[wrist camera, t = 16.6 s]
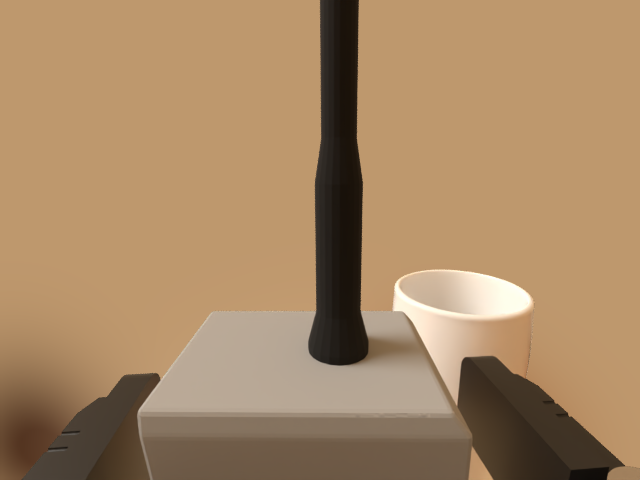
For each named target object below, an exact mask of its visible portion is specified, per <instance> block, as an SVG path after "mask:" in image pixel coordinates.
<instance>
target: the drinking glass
mask: <svg viewBox="0 0 640 480" xmlns="http://www.w3.org/2000/svg"><path fill="white" fill-rule="evenodd" d="M394 289H395V290H394V300H393V311H402V312H404V313H405V314H406V315H407V316H408V317H409V318H410V320H411V321H412V322H413V324H414V326H415V327H416V329H417V331H418V333H419V335H420V337H421V339H422V341H423V343H424V345H425V346H426V348H427V350H428V352H429V354H430V356H431V358H432V360H433V362H434V364H435V365H436V367H437V369H438V371H439V373H440V375H441V377H442V379H443V381H444V382H445V384H446V386H447V388H448V390H449V392H450V394H451V396H452V398H453V400H454V401H455V403H456V405H457V403H458V392H459V381H460V370H461V363H462V360H463V359H464V358H465V357H475V356H495V357H496V358H498V359H499V360H500V361H501V362H502V363H503V364H504V365H505V366H506V367H507V368H508V369H509V370H510V371H511V372H512V373H513V374H518V375H520V376H522V377H524V378H525V379H526V375H527V370H528V364H529V357H530V350H531V340H532V330H533V315H534V306H535V304H534V300H533V299H532V297H531V296H530V294H528V293H527V292H526V291H525V290H523V289H522V288H520V287H518V286H517V285H514V284H512V283H510V282H508V281H505V280H502V279H499V278H496V277H492V276H488V275H484V274H479V273H473V272H466V271H457V270H427V271H419V272H414V273H411V274H408V275H405V276H403V277H402V278H400V279H399V280H398V281H397V282H396V284H395V288H394ZM468 480H493V478H492V477H491V475H490V474H489V472H488V470H487V469H486V467H485V466H484V464H483V462H482V461H481V459H480V458H479V456H478V455H477V453H476V451H475V450H474V448H473V447H472V450H471V460H470V469H469V478H468Z"/></svg>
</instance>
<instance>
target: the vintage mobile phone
mask: <svg viewBox="0 0 640 480" xmlns="http://www.w3.org/2000/svg"><path fill="white" fill-rule="evenodd" d="M358 4H359V0H320V34H321V35H320V38H321V144H320V151H319V158H318V165H317V172H316V179H315V222H316V223H315V226H316V227H315V228H316V309H317V310H316V311H214V312H211V314H210V315H209V316H208V318H207V319H206V320H205V322H204V323H203V324H202V326H201V327H200V328H199V330H198V331H197V332H196V334H195V335H194V337H193V338H192V339H191V341H190V342H189V343H188V344H187V346H186V347H185V348H184V350H183V351H182V352H181V354H180V355H179V356H178V358H177V359H176V360H175V362H174V363H173V364H172V366H171V367H170V368H169V370H168V371H167V372H166V374H165V375H164V377H163V378H162V379H161V380H160V382H159V383H158V384H157V386H156V387H155V388H154V390H153V391H152V392H151V394H150V395H149V396H148V398H147V399H146V401H145V402H144V403H143V405H142V406H141V407H140V409H139V411H138V414H137V419H138V429H139V436H140V441H141V445H142V449H143V453H144V457H145V461H146V465H147V468H148V472H149V476H150V480H468V478H469V469H470V460H471V450H472V439H473V438H472V434H471V432H470V430H469V428H468V426H467V424H466V422H465V420H464V418H463V417H462V415H461V413H460V411H459V409H458V407H457V405H456V403H455V401H454V400H453V398H452V396H451V394H450V392H449V390H448V388H447V386H446V384H445V382H444V381H443V379H442V377H441V375H440V373H439V371H438V369H437V367H436V365H435V364H434V362H433V360H432V358H431V356H430V354H429V352H428V350H427V348H426V346H425V345H424V343H423V341H422V339H421V337H420V335H419V333H418V331H417V329H416V327H415V326H414V324H413V322H412V321H411V320H410V318H409V317H408V316H407V315H406V314H405V313H404V312H402V311H361V310H360V305H361V303H360V302H361V252H362V250H361V249H362V248H361V247H362V196H363V195H362V194H363V193H362V192H363V181H362V174H361V166H360V159H359V152H358V144H357V80H358V78H357V77H358V76H357V75H358V9H359V8H358V7H359V5H358Z"/></svg>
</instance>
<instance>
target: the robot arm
mask: <svg viewBox="0 0 640 480" xmlns="http://www.w3.org/2000/svg"><path fill="white" fill-rule="evenodd" d="M159 382H160V377H159V375H158V374H157V373H150V374H132V375H124V376H123V377H122V378H121V379H120V381H119V382H118V383H117V385H116V386H115V387H114V388H113V390H112V391H111V392H110V394H109V395H108V396H107V397H102V398H98V399H97V400H95V401H94V402H92V403H91V404H90V405H88V406H87V407H85V408H84V409H83V410H82V411H80V412H79V413H77V414H76V416H75V417H74V418H73V419H72V420H71V422H70V423H69V424H68V425H67V426H66V428H65V429H64V430H63V431H62V434H61V436H58V437H57V438H56V439H55V441H54V442H53V443H52V444H51V445H50V447H49V448H48V452H45V453H44V454H43V455H42V456H41V457H40V459H39V460H38V461H37V462H36V463H35V464H34V466H33V467H32V468H31V469H30V470H29V472H28V473H27V474H26V475H25V476H24V478H23V479H22V480H150V476H149V472H148V468H147V465H146V461H145V457H144V453H143V449H142V445H141V441H140V436H139V429H138V419H137V414H138V411H139V409H140V407H141V406H142V405H143V403H144V402H145V401H146V399H147V398H148V396H149V395H150V394H151V392H152V391H153V390H154V388H155V387H156V386H157V384H158V383H159ZM457 407H458V409H459V411H460V413H461V415H462V417H463V418H464V420H465V422H466V424H467V426H468V428H469V430H470V432H471V434H472V438H473V439H472V447H473V448H474V450H475V451H476V453H477V455H478V456H479V458H480V459H481V461H482V462H483V464H484V466H485V467H486V469H487V470H488V472H489V474H490V475H491V477H492V478H493V480H640V468H636V467H628V466H625V465H624V464H623V463H622V462H620V461H619V460H618V459H617V458H616V457H615V456H614V455H613V454H612V453H611V452H609V450H607V449H606V448H605V447H604V446H603V445H602V444H601V443H600V442H599V441H598V440H596V439H595V438H594V437H593V436H592V435H591V434H590V433H589V432H588V431H587V430H586V429H584V428H583V427H582V426H581V425H580V424H579V423H578V422H577V421H576V420H575V419H574V418H573V417H569V416H568V413H567V412H566V411H565V410H564V409H563V408H562V407H560V406H559V405H558V404H555V403H554V400H553V399H552V398H551V397H550V396H549V395H547V394H546V393H545V392H544V391H543V390H542V389H541V388H540V387H539V386H538V385H536V384H534V383H532V382H530V381H529V380H527V379H525V378H524V377H522V376H520V375H518V374H513V373H512V372H511V371H510V370H509V369H508V368H507V367H506V366H505V365H504V364H503V363H502V362H501V361H500V360H499V359H498V358H496V357H495V356H475V357H465V358H464V359H463V360H462V363H461V370H460V381H459V392H458V403H457Z"/></svg>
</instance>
